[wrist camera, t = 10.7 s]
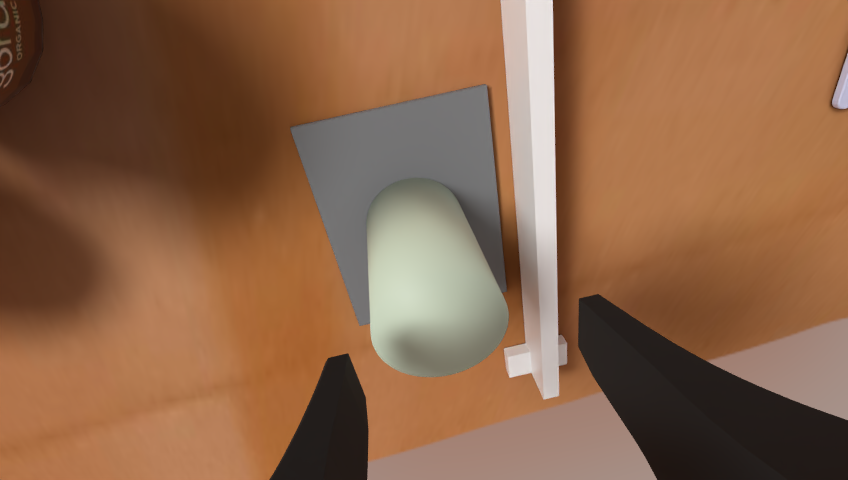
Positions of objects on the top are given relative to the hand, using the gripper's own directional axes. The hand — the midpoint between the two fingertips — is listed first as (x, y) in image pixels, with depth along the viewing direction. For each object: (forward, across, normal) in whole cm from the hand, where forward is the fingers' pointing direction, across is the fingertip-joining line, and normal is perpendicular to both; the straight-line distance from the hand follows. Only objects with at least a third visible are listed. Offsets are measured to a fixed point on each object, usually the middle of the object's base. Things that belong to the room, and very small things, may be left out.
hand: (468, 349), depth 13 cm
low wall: (+10, -5, +1) cm, 12 cm away
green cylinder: (+10, +1, +1) cm, 10 cm away
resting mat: (+10, +1, +1) cm, 10 cm away
